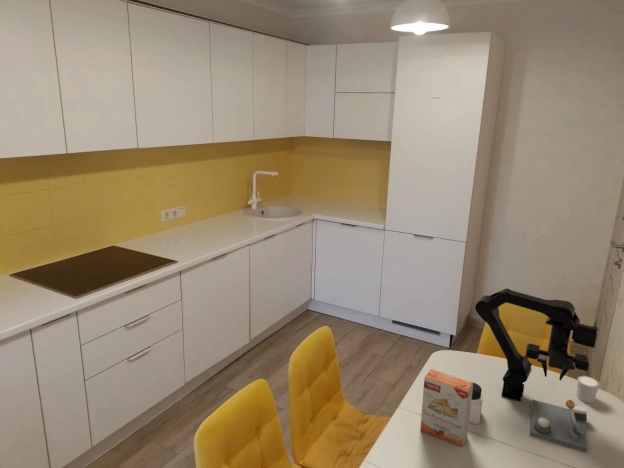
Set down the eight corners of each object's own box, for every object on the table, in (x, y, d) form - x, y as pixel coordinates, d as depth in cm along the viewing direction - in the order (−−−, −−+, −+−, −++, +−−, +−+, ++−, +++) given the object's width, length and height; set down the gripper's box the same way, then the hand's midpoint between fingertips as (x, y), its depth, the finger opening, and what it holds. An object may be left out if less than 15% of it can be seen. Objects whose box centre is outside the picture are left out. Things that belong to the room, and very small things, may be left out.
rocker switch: (572, 412, 152) (572, 409, 152) (572, 408, 154) (572, 405, 154) (586, 414, 150) (586, 411, 150) (585, 410, 152) (585, 407, 152)
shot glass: (599, 404, 161) (602, 388, 159) (578, 402, 162) (581, 385, 160) (591, 392, 167) (595, 376, 165) (571, 390, 169) (574, 374, 167)
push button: (537, 425, 146) (538, 422, 146) (537, 419, 149) (538, 416, 149) (548, 429, 145) (549, 425, 144) (548, 422, 148) (549, 419, 147)
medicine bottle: (481, 412, 158) (484, 382, 154) (479, 425, 152) (482, 394, 148) (459, 406, 161) (462, 377, 157) (456, 419, 155) (460, 389, 151)
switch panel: (529, 435, 147) (530, 427, 146) (532, 403, 162) (533, 395, 161) (587, 452, 140) (589, 444, 139) (584, 417, 155) (586, 409, 154)
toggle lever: (569, 432, 145) (563, 400, 145) (574, 430, 146) (568, 398, 146) (576, 435, 142) (570, 402, 143) (582, 432, 143) (576, 400, 144)
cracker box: (419, 431, 149) (423, 376, 143) (426, 420, 154) (430, 367, 148) (462, 448, 142) (468, 392, 135) (467, 437, 146) (473, 381, 140)
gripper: (527, 342, 149) (521, 383, 154) (593, 356, 141) (585, 399, 145) (529, 327, 158) (523, 366, 163) (591, 340, 150) (583, 380, 155)
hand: (552, 378), depth 156 cm, fingers open, 4 cm apart
